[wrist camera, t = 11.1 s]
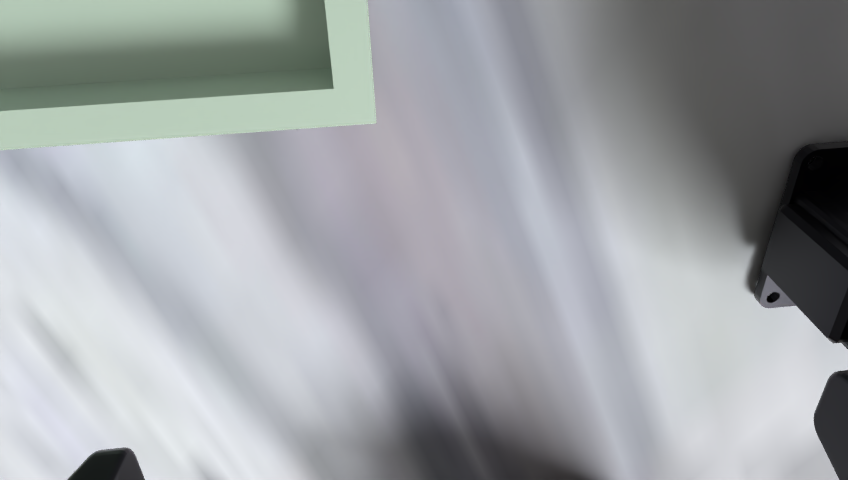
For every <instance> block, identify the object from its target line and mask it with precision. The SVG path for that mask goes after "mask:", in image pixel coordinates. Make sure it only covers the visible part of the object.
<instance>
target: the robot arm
mask: <svg viewBox="0 0 848 480" xmlns="http://www.w3.org/2000/svg"><path fill="white" fill-rule="evenodd" d="M813 157H816V158H815V159H814V161H813V162H812V163H811V164H808V163H809V161H810V160H811V159H812V158H813ZM770 293H772V294H770ZM769 294H770V295H769ZM768 295H769V296H768ZM754 296H755V298H756V300H757V301H758V302H759V303H760V304H761V305H762V306H763V307H765V308H775V307H785V306H797V307H798V308H799V309H800V310H801V311H802V312H803V313H804V314H805V315H806V316H807V317H808V318H809V319H810V320H811V322H812V323H813V324H814V325H815V326H816V327H817V328H818V329H819V330H820V331H821V332H822V333H823V334H824V335H825V336H826V337H827V338H828V339H829V340H830V341H831V342H832V343H842V344H843V345H844V346H845V347H846V348H847V349H848V141H847V142H835V143H822V144H811V145H807V146H805V147H804V148H802V149H801V150H800V151H799V152H798V153H797V154H796V156H795V158H794V161H793V164H792V167H791V171H790V174H789V177H788V181H787V184H786V188H785V191H784V194H783V198H782V201H781V205H780V208H779V211H778V213H777V217H776V220H775V223H774V227H773V230H772V234H771V237H770V240H769V244H768V247H767V251H766V254H765V257H764V261H763V264H762V269H761V272H760V276H759V279H758V282H757V286H756V289H755V294H754ZM814 426H815V430H816V433H817V435H818V437H819V439H820V441H821V443H822V445H823V447H824V449H825V451H826V453H827V455H828V457H829V459H830V461H831V464H832V466H833V468H834V470H835V472H836V474H837V476H838V478H839V480H848V370H845V371H837V372H834V373H833V374H832V375H831V376H830V377H829V379H828V381H827V383H826V386H825V388H824V391H823V393H822V396H821V398H820V401H819V403H818V406H817V408H816V410H815V413H814ZM67 480H145V479H144V476H143V474H142V471H141V469H140V466H139V463H138V461H137V458H136V456H135V454H134V452H133V451H132V450H131V449H129V448H115V449H106V450H99V451H96V452H94V453H93V454H92V455H90V456H89V457H88V458H87V459H86V460H85V461H84V462H83V463H82V464H81V466H80V467H79V468H78V469H77V470H76V471H75V472H74V473H73V474H72V475H71V476H70V477H69V478H68V479H67Z"/></svg>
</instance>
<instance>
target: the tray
mask: <svg viewBox="0 0 848 480" xmlns="http://www.w3.org/2000/svg"><path fill="white" fill-rule="evenodd" d="M375 123H376V111H375V98H374V84H373V70H372V56H371V43H370V29H369V15H368V1H367V0H0V150H10V149H24V148H38V147H52V146H66V145H80V144H94V143H108V142H122V141H136V140H150V139H164V138H178V137H192V136H206V135H220V134H234V133H248V132H262V131H277V130H291V129H305V128H319V127H333V126H347V125H361V124H375Z"/></svg>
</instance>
